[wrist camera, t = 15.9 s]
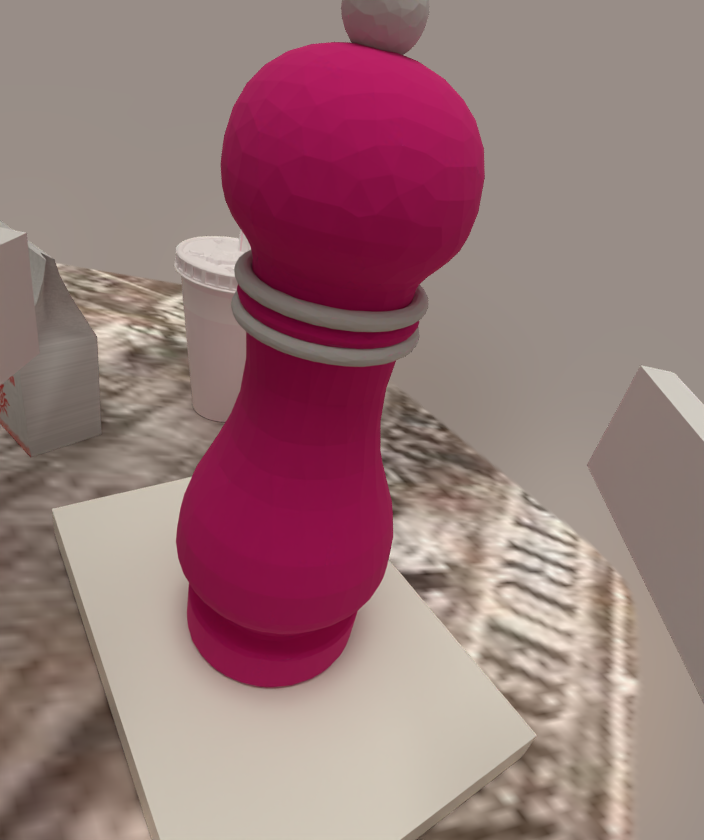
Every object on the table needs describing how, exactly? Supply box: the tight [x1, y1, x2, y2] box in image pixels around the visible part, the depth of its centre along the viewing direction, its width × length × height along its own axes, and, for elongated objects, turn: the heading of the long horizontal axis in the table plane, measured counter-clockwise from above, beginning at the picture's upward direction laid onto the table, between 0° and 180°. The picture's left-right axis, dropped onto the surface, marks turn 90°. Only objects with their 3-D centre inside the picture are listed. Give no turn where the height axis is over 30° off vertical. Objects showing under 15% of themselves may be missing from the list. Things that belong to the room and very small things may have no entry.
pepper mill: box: [176, 0, 485, 687], centre depth 16 cm, size 7×7×20 cm
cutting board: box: [52, 477, 537, 840], centre depth 22 cm, size 17×12×2 cm
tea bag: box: [0, 221, 102, 457], centre depth 28 cm, size 4×7×10 cm, turn 48°
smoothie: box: [174, 229, 251, 422], centre depth 32 cm, size 6×6×14 cm
